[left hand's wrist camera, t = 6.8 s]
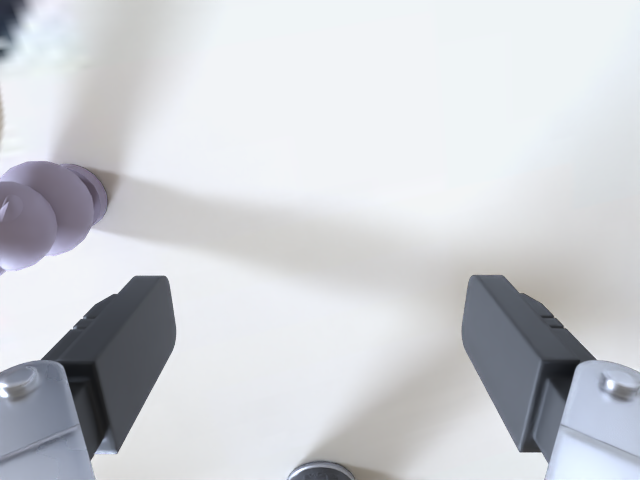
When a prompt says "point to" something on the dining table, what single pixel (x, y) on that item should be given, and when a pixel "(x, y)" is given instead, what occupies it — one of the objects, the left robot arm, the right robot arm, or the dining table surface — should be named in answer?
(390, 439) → the dining table surface
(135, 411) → the left robot arm
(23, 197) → the cat figurine
